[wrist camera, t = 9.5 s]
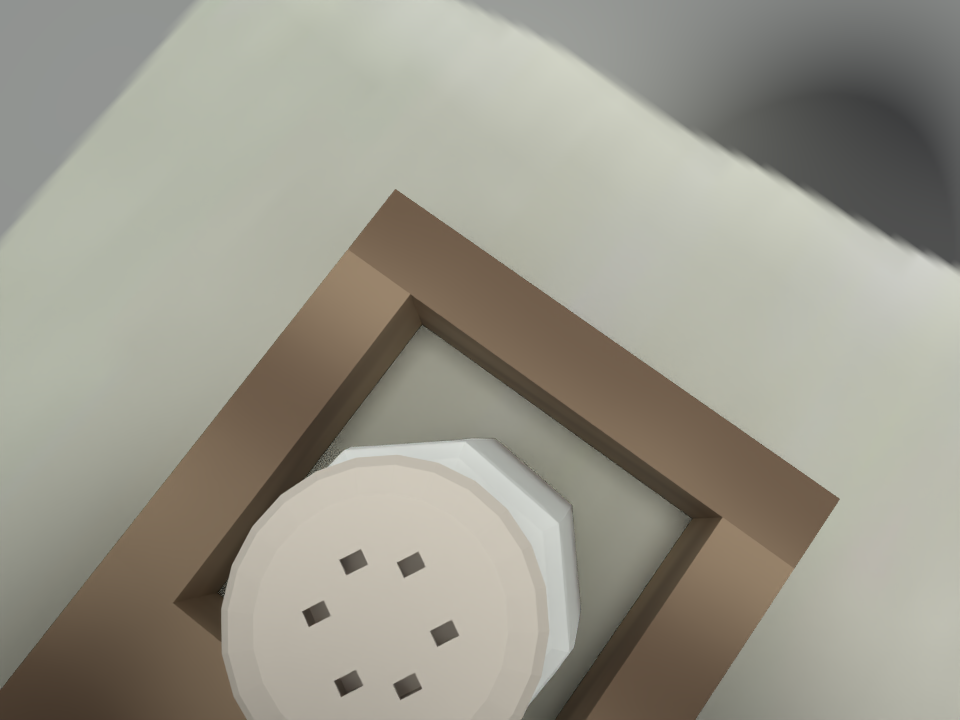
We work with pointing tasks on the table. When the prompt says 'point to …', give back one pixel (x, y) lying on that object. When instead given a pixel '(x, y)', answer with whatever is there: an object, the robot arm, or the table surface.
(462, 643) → the pepper shaker
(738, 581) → the wooden tray
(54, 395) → the table surface
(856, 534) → the table surface
